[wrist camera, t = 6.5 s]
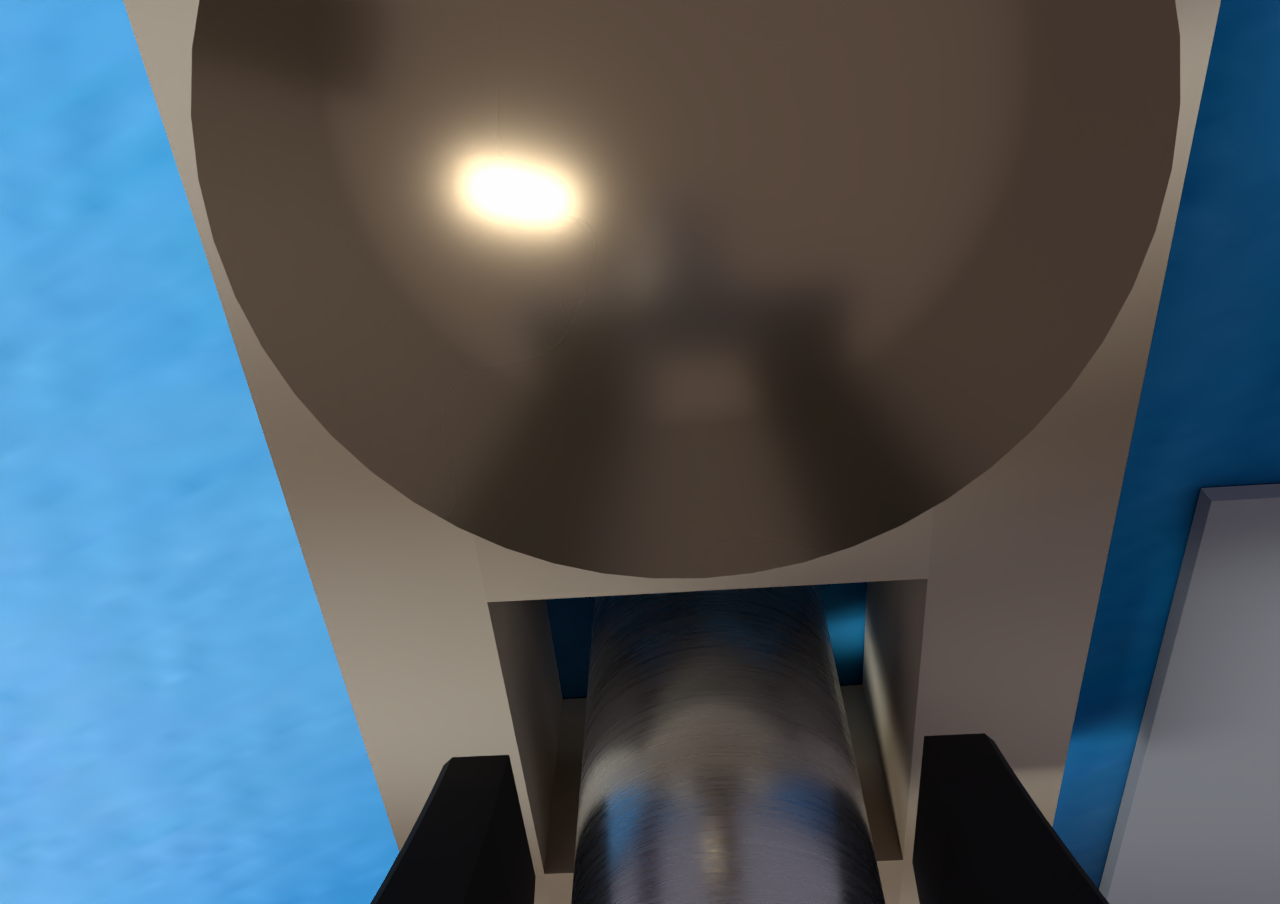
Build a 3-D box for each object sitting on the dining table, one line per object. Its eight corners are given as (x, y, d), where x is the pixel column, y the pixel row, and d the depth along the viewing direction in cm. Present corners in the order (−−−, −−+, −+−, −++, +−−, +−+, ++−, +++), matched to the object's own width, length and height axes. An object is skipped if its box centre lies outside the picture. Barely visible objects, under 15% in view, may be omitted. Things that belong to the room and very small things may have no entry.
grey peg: (817, 644, 15) (952, 1343, 8) (612, 662, 15) (579, 1356, 8) (808, 473, 13) (967, 1165, 7) (580, 495, 14) (506, 1187, 7)
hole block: (970, 760, 16) (1029, 938, 14) (468, 782, 17) (433, 958, 14) (1166, -716, 8) (1420, -972, 5) (120, -588, 8) (-125, -769, 6)
